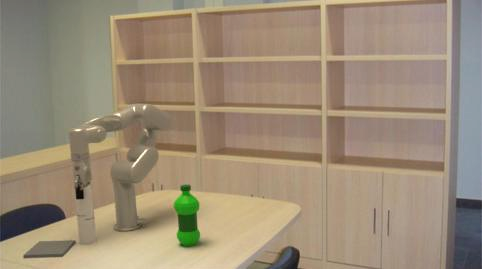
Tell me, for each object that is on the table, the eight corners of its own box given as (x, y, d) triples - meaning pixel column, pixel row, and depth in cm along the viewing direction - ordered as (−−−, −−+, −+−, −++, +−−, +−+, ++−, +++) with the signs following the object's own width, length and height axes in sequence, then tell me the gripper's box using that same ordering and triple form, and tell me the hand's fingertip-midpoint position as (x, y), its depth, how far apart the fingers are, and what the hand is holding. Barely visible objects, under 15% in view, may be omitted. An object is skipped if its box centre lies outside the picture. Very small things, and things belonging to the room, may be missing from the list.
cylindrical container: (81, 239, 235) (76, 184, 231) (97, 238, 235) (92, 183, 232) (77, 245, 228) (72, 188, 224) (94, 243, 228) (89, 187, 225)
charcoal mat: (75, 242, 231) (75, 240, 231) (62, 256, 215) (62, 253, 215) (39, 243, 231) (39, 241, 231) (23, 257, 216) (23, 255, 215)
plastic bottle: (178, 240, 228) (174, 183, 225) (202, 239, 228) (199, 182, 224) (174, 248, 218) (170, 189, 215) (200, 247, 218) (196, 188, 214)
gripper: (82, 160, 217) (86, 201, 220) (95, 152, 234) (98, 190, 237) (64, 161, 218) (68, 201, 220) (78, 153, 235) (81, 191, 237)
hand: (83, 196), depth 229 cm, fingers open, 9 cm apart
